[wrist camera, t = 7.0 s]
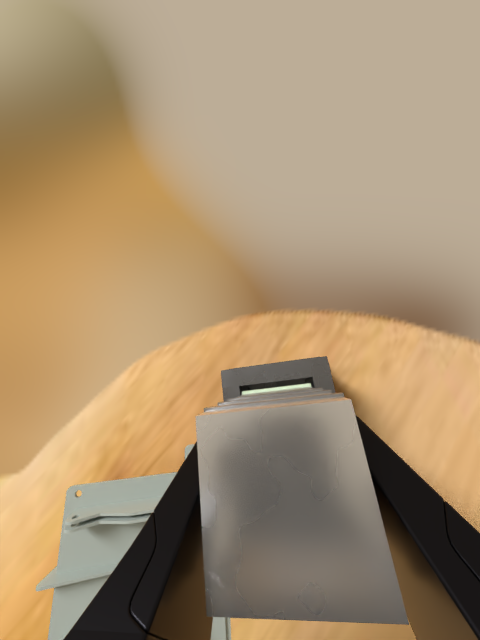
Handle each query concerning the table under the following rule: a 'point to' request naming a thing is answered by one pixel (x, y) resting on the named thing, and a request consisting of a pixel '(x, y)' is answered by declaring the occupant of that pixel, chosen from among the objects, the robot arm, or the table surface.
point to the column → (292, 511)
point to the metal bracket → (102, 544)
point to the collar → (277, 376)
